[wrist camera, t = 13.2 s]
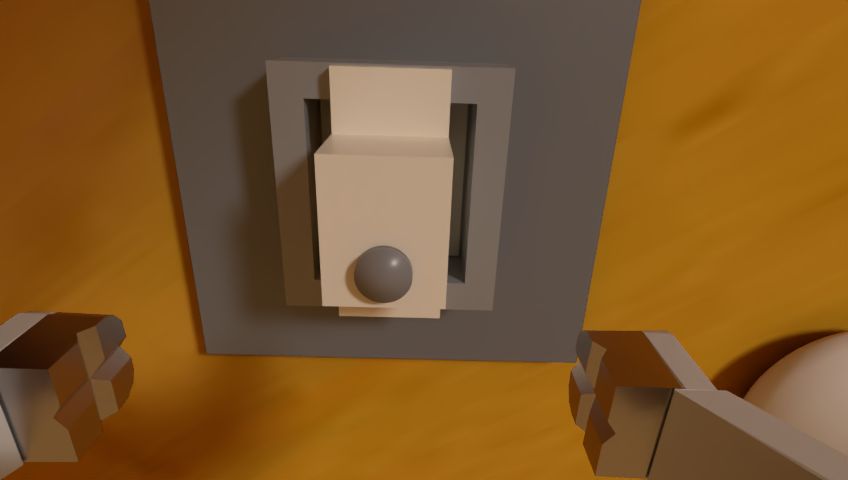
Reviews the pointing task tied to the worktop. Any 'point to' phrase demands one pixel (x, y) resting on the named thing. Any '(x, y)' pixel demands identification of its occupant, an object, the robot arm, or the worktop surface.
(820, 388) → the flower in vase
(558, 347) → the plate
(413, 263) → the block
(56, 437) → the robot arm
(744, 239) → the worktop surface
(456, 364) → the worktop surface
